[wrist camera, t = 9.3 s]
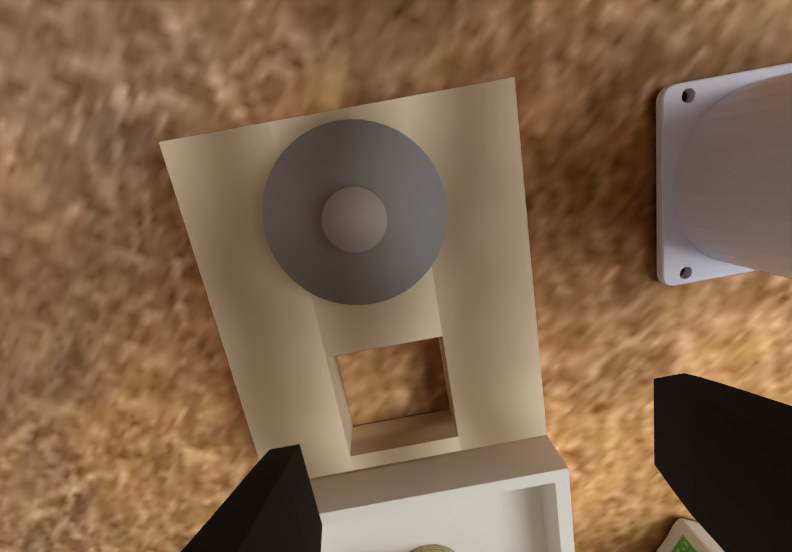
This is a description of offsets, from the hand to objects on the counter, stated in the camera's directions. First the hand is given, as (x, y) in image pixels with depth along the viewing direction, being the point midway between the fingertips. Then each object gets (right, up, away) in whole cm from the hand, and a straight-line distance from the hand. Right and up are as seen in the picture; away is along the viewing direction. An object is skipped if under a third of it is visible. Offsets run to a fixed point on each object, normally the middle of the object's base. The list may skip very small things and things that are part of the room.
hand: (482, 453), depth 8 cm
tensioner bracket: (-3, +3, +9) cm, 10 cm away
